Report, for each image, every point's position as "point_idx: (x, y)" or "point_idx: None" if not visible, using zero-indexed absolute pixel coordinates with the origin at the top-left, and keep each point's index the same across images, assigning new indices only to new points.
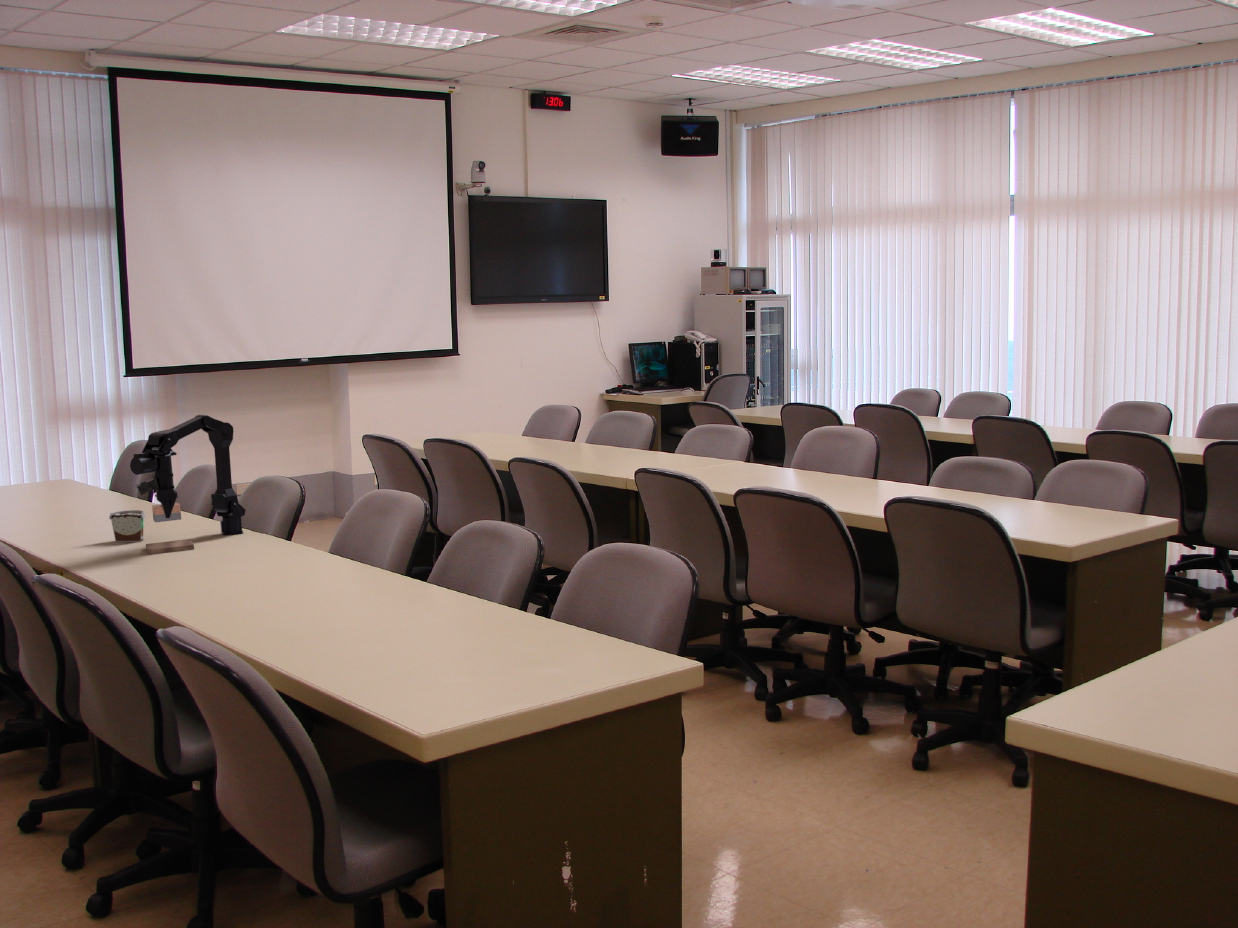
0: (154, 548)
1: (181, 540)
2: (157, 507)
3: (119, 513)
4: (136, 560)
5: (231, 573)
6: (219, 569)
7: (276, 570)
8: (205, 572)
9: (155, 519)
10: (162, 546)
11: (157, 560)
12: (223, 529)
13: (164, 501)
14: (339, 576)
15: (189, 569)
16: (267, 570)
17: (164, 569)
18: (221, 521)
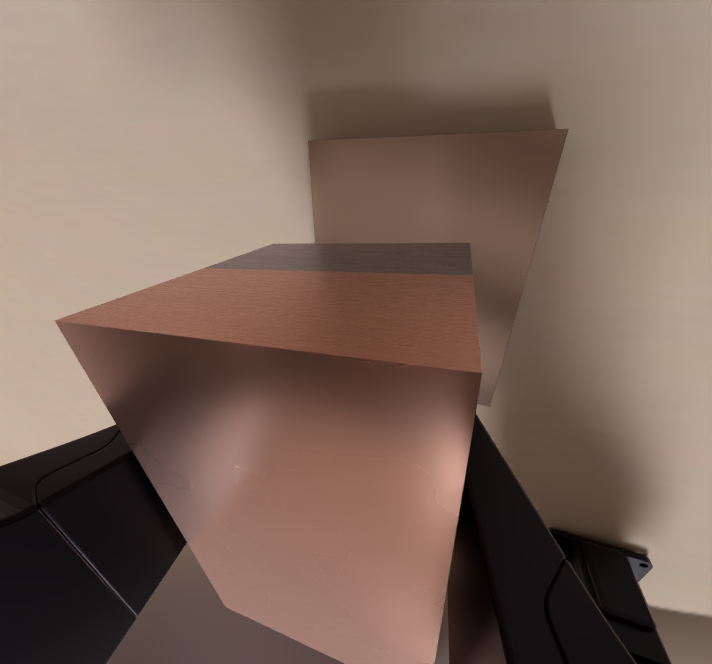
0: (332, 187)
1: (482, 364)
2: (103, 379)
3: None
4: (189, 60)
5: (16, 341)
6: (45, 333)
7: (47, 407)
8: (16, 298)
9: (249, 253)
10: (369, 241)
11: (166, 183)
12: (583, 562)
13: None
14: (23, 443)
15: (39, 270)
16: (45, 397)
17: (31, 195)
18: (610, 613)
